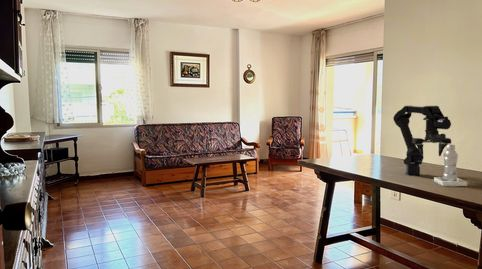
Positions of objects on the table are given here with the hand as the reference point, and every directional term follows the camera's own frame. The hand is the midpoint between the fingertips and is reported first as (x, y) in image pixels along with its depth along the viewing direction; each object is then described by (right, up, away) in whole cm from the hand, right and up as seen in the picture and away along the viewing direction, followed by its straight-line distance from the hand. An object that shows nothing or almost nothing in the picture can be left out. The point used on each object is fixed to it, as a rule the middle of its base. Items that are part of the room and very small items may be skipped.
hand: (430, 156), depth 194 cm
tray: (+4, -14, -11) cm, 18 cm away
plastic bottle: (+4, -14, -11) cm, 18 cm away
